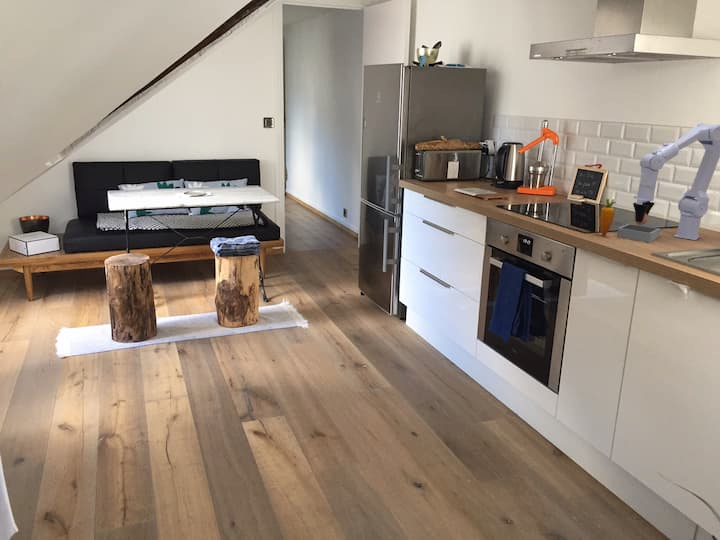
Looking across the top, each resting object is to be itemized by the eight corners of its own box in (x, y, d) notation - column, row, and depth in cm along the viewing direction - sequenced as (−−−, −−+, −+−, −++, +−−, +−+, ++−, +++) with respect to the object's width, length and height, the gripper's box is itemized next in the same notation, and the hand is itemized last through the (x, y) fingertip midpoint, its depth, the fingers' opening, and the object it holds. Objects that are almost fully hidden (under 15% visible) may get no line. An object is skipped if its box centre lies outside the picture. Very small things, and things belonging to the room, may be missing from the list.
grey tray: (627, 231, 244) (628, 223, 243) (658, 237, 237) (660, 228, 236) (616, 236, 233) (618, 228, 232) (649, 242, 226) (651, 233, 225)
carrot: (607, 235, 236) (613, 197, 232) (612, 237, 231) (619, 199, 227) (594, 234, 236) (601, 196, 232) (600, 237, 231) (606, 198, 227)
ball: (635, 222, 237) (637, 210, 236) (648, 224, 234) (651, 212, 233) (631, 224, 233) (633, 211, 232) (645, 226, 230) (647, 213, 229)
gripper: (641, 183, 237) (635, 217, 241) (630, 186, 226) (624, 221, 230) (660, 185, 233) (653, 220, 237) (650, 188, 222) (643, 224, 226)
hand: (640, 221), depth 233 cm, fingers closed on ball, 5 cm apart
